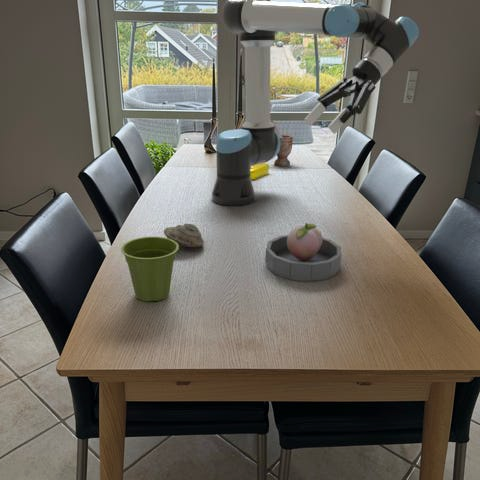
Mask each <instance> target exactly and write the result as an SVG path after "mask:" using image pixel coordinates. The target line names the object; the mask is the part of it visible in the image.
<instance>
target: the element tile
mask: <svg viewBox="0 0 480 480" xmlns="http://www.w3.org/2000/svg"><path fill="white" fill-rule="evenodd" d="M269 166H270V165H269V164H268V163H267V162H265V163H260V164H256V165H253V166H251V173H250V178H251V181H253V180H254V181H255V180H257V179H260V178H262V177H264V176H266V175H269Z"/></svg>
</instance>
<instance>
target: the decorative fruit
mask: <svg viewBox="0 0 480 480" xmlns="http://www.w3.org/2000/svg"><path fill="white" fill-rule="evenodd" d="M287 235H288V238H287V246H288V249H289V251H290V252H291V253H292V255H293V256H294V257H296V258H297V259H300V260H303V261H307V260H309V259H311V258H313V257H314V256H315V255H316V253H317V252H318V251H319V249H320V247H321V245H322V241H323V238H324V237H323V235H322V234H321V232H320V230H319V229H318V228H317V225H316V224H314V223H311V222H310V223H307V222H306V223H305V224H304V225H298V226H296V227H294V228H293V229H292V230H291V231H290V232H289V234H287Z"/></svg>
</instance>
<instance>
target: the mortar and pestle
mask: <svg viewBox="0 0 480 480" xmlns="http://www.w3.org/2000/svg"><path fill="white" fill-rule="evenodd" d="M270 121H271V122H272V123H273V124H274V130H275V131H276V132H277V135H279V138H280V149H279V152H278V154H277V155H276V157H277V158H276V159H275V160H274V163H273V165H274V166H275V167H276V166H277V167H290V166H291V162H290V160H289V156H290V154H291V152H292V149H293V135H290V134H280V132H279V130H278V129H277V127H276V126H277V125H276V124H275V122H274V120H273V119H271V118H270Z"/></svg>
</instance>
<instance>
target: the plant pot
mask: <svg viewBox="0 0 480 480" xmlns="http://www.w3.org/2000/svg"><path fill="white" fill-rule="evenodd" d="M179 248H180V245H178V243H177V242H175V241H173V240H172V239H169V238H167V237H162V236H141V237H138V238H133V239H131V240H128V241H125V243H123V244H122V246H121V247H120V252H121V254H122V255H124V258H125V262H126V263H127V267H128V270H129V275H130V279H131V283H132V286H133V290H134V291H133V292H134V294H135V297H136V298H137V299H138V300H140V301H142V302H159V301H162V300H164V299H166V298H167V297H168V296H169V294H170V291H171V283H172V275H173V268H174V263H175V262H174V261H175V260H176V256H177V252H178V251H179Z"/></svg>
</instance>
